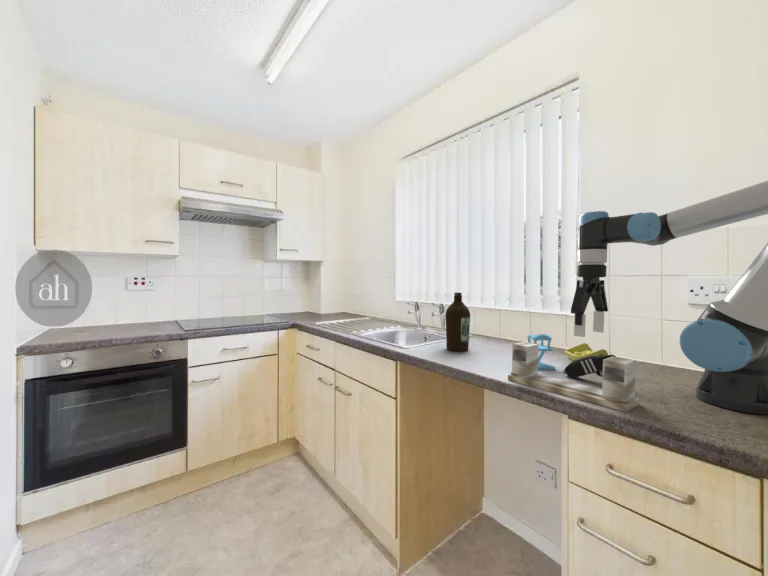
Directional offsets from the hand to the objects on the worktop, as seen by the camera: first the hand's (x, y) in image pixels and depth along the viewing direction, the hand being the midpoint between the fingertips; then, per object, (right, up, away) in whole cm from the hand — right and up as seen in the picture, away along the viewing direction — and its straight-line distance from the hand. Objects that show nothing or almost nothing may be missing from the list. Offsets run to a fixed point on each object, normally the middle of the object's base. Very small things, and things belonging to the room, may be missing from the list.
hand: (589, 334), depth 102 cm
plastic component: (+13, -14, +22) cm, 30 cm away
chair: (-8, -14, +17) cm, 23 cm away
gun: (0, -15, 0) cm, 15 cm away
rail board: (-12, -15, -9) cm, 21 cm away
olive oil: (-30, -13, +45) cm, 56 cm away
